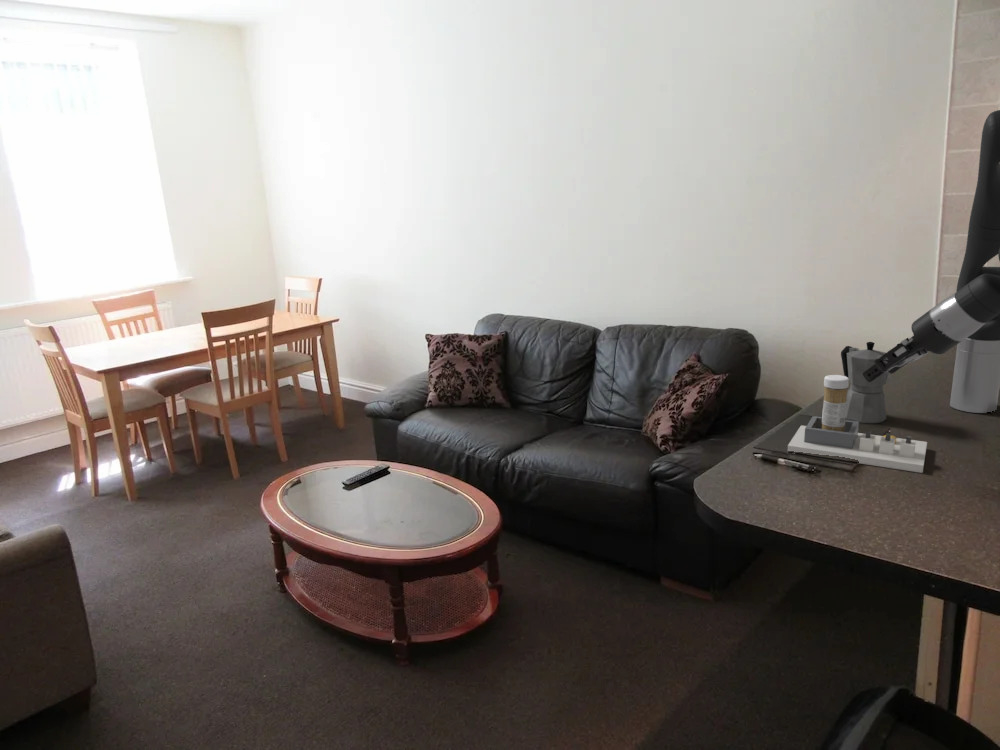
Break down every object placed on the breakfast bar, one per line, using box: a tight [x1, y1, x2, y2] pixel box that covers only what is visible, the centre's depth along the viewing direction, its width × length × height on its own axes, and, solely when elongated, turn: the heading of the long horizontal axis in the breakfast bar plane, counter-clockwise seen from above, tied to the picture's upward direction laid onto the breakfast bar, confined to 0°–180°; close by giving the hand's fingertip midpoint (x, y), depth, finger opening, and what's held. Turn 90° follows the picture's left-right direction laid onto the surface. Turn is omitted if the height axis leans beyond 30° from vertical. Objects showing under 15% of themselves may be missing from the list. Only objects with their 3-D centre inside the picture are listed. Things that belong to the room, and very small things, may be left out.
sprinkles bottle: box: [821, 374, 850, 432], centre depth 144 cm, size 5×5×13 cm
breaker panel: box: [787, 415, 928, 474], centre depth 142 cm, size 14×24×5 cm, turn 57°
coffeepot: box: [840, 341, 890, 424], centre depth 161 cm, size 15×9×18 cm, turn 13°
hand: (877, 373), depth 136 cm, fingers open, 8 cm apart
